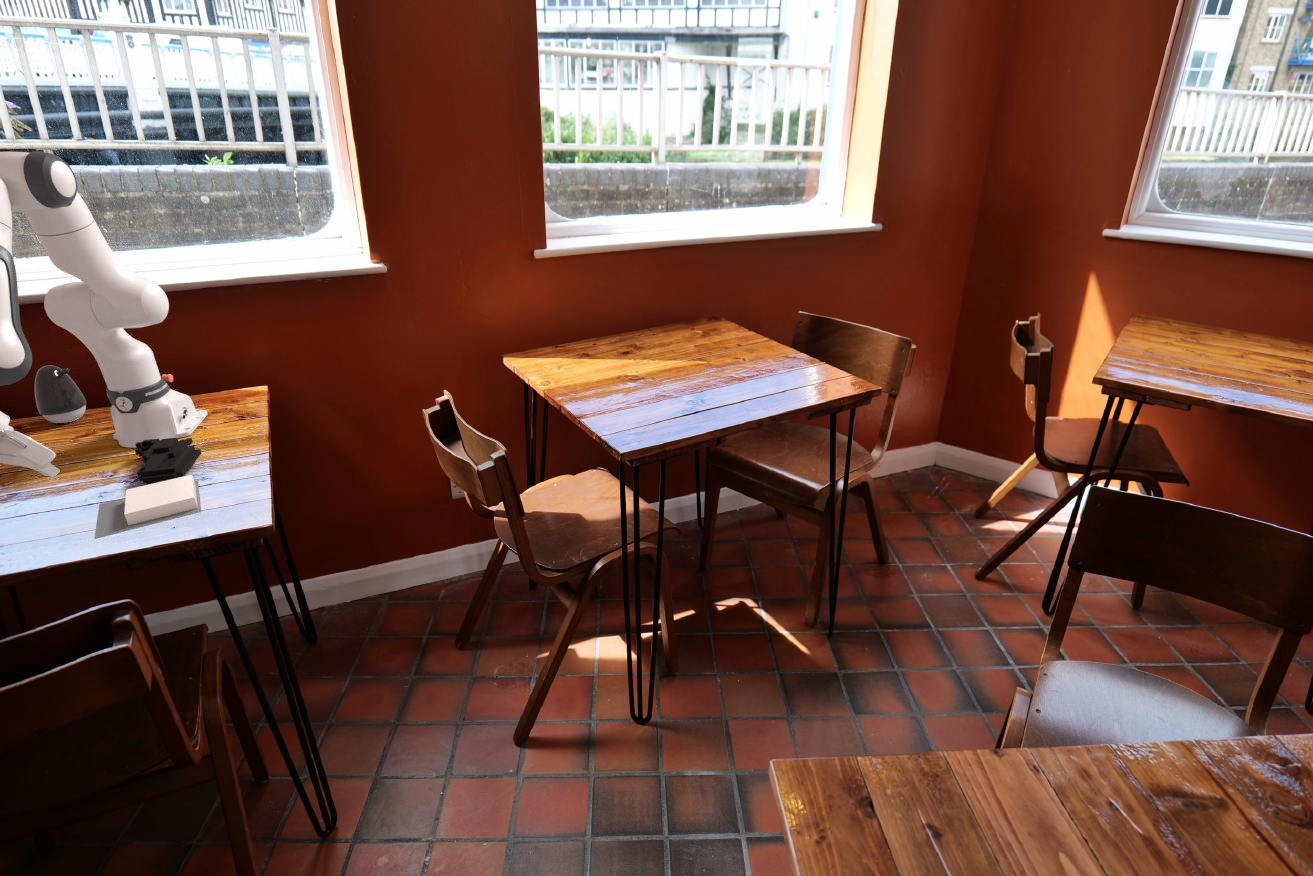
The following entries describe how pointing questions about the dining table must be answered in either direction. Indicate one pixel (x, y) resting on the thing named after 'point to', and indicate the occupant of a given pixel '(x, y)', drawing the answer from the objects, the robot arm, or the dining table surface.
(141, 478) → the tool
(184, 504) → the tile
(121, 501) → the mat
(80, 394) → the penguin toy figure
